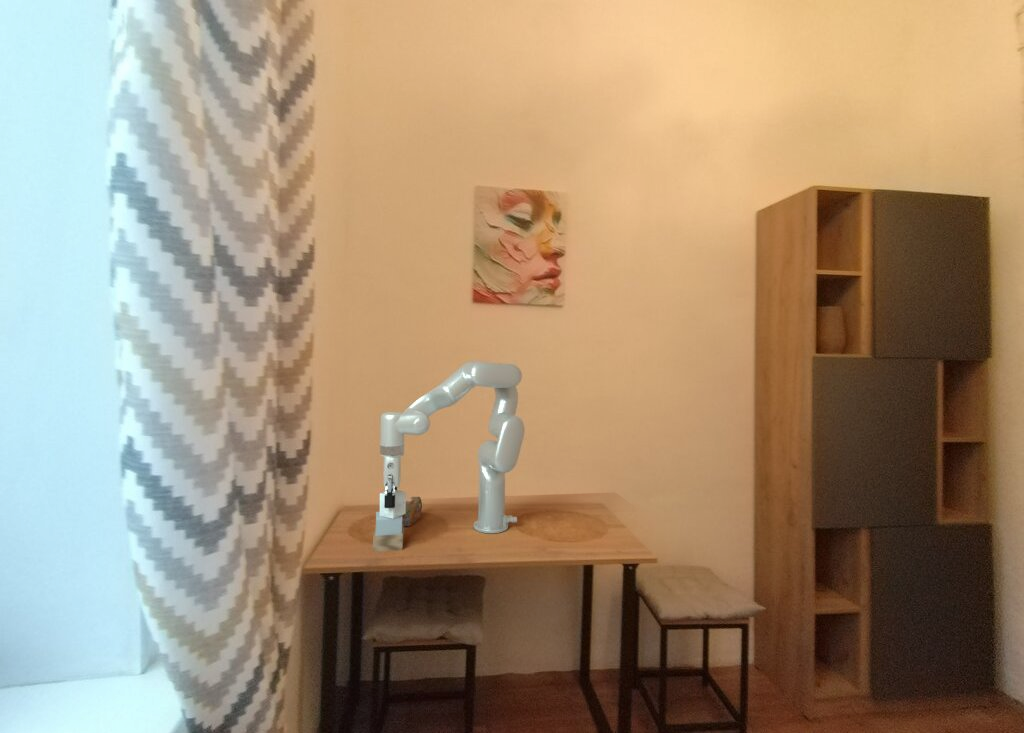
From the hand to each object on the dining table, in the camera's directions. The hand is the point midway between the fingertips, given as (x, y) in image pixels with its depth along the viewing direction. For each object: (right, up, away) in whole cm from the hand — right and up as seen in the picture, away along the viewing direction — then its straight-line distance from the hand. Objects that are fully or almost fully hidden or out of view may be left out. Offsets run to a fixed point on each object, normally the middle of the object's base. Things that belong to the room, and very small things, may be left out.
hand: (390, 502), depth 145 cm
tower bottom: (-1, -14, 0) cm, 14 cm away
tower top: (-1, -9, 0) cm, 9 cm away
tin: (+2, -14, +21) cm, 25 cm away
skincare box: (0, -4, 0) cm, 4 cm away
